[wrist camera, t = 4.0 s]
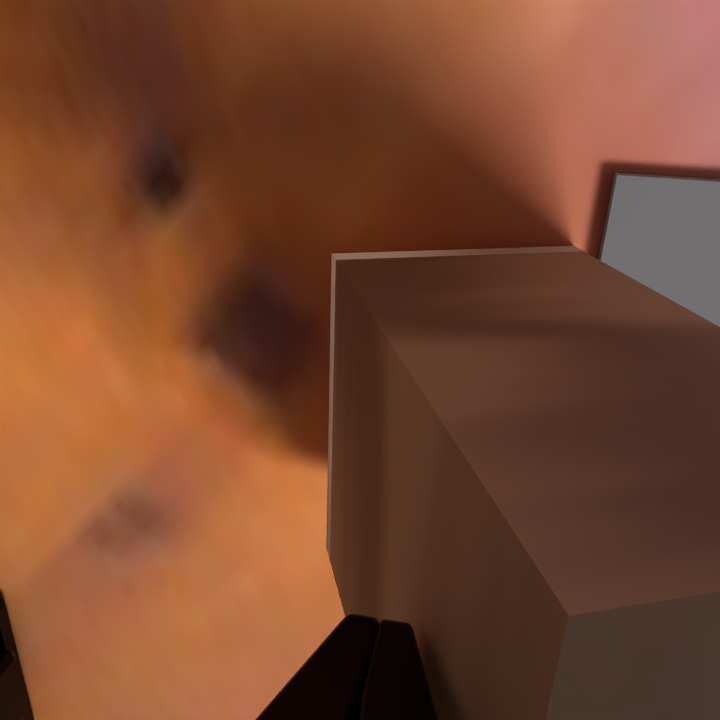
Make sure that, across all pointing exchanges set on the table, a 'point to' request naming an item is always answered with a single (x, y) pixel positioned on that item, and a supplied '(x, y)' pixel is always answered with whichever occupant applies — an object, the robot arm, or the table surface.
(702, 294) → the mat
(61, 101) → the table surface
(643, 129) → the table surface
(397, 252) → the walnut block
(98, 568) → the table surface
